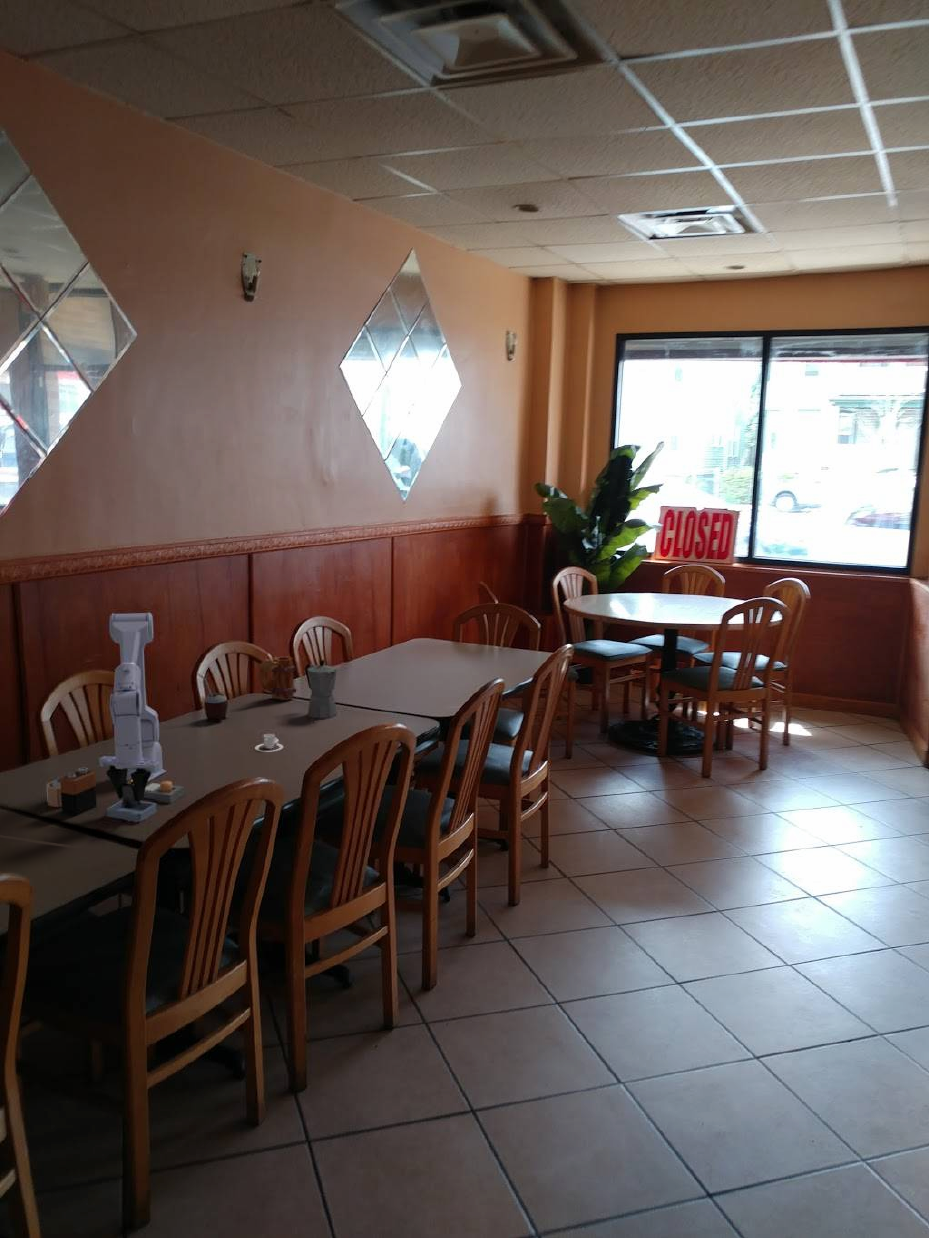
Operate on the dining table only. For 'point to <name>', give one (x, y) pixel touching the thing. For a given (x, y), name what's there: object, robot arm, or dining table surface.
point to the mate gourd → (215, 705)
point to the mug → (278, 677)
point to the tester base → (163, 793)
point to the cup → (53, 795)
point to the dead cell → (57, 782)
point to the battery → (78, 792)
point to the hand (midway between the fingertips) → (130, 798)
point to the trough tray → (132, 811)
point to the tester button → (166, 786)
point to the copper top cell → (129, 795)
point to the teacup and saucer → (269, 743)
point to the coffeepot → (321, 690)
